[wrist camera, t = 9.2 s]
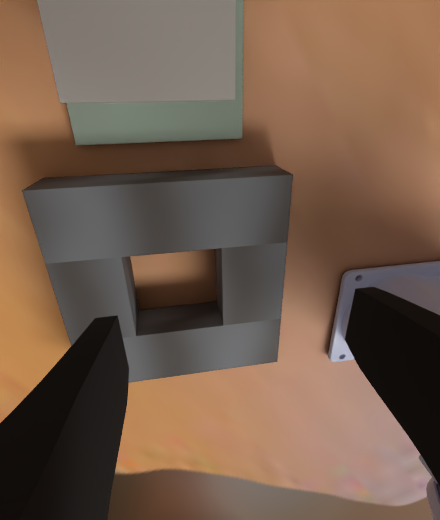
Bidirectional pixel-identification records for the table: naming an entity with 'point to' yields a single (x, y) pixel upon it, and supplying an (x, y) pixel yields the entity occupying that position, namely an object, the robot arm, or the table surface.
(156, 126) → the mat
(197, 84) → the block
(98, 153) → the table surface
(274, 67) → the table surface
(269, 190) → the pocket board
